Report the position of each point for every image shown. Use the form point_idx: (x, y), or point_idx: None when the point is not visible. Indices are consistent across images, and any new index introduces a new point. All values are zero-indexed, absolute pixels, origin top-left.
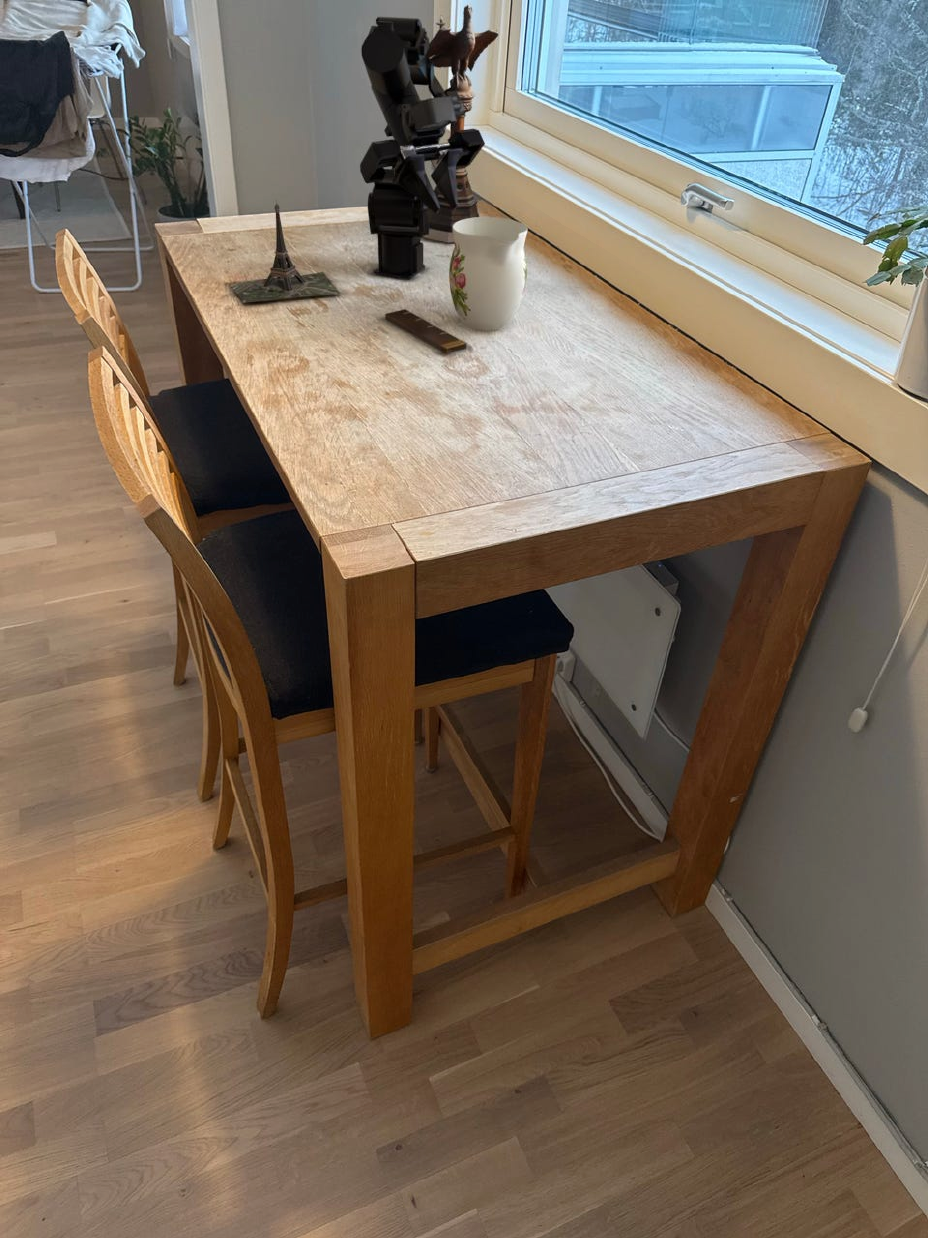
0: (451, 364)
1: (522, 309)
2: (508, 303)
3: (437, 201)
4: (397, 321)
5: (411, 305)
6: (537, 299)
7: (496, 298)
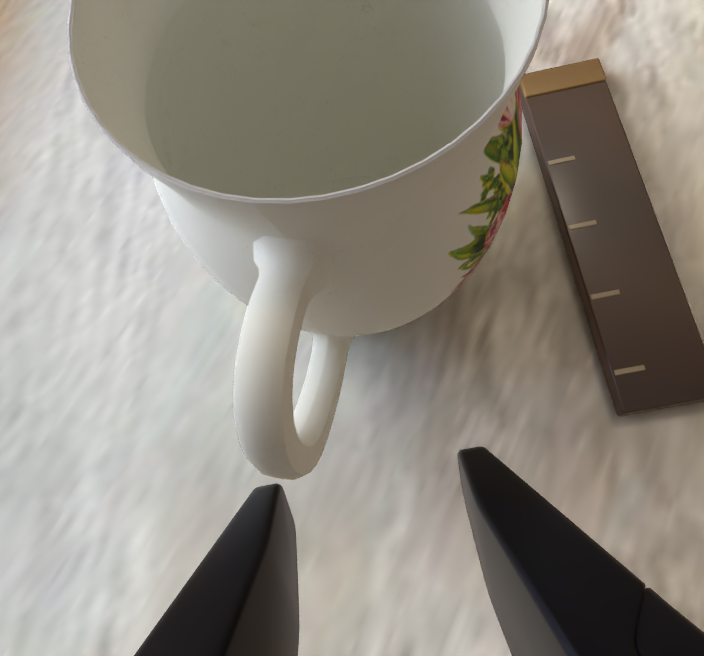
0: (601, 14)
1: (184, 302)
2: (333, 72)
3: (478, 482)
4: (690, 312)
5: (557, 497)
6: (81, 366)
7: (382, 50)
